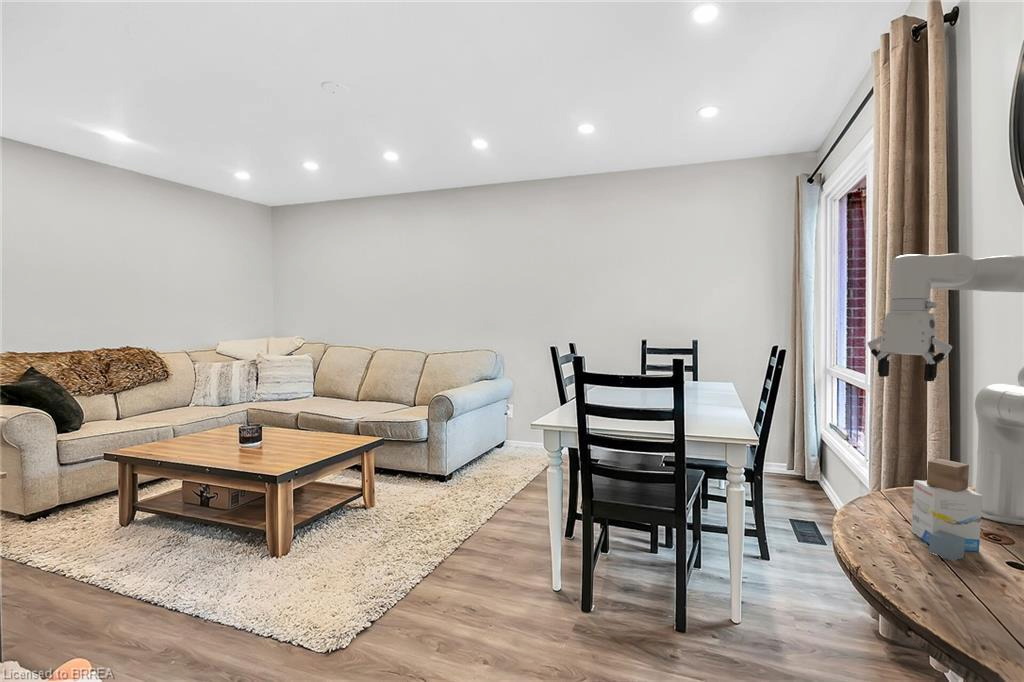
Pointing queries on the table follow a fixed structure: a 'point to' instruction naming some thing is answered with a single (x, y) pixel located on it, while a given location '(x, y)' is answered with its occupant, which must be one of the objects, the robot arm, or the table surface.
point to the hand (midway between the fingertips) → (905, 378)
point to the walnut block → (948, 475)
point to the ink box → (946, 513)
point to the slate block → (947, 545)
